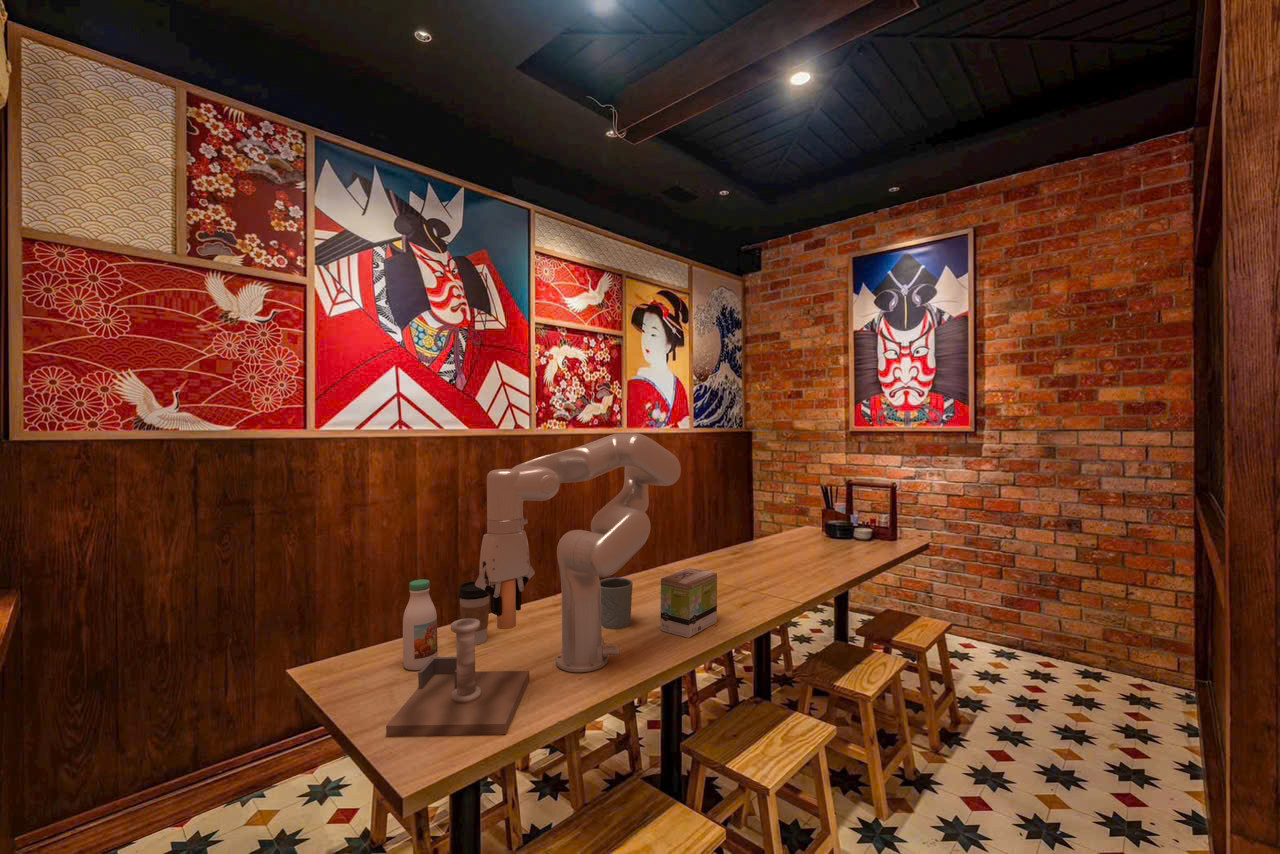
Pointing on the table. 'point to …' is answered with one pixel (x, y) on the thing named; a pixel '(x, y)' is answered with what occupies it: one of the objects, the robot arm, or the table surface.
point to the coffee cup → (475, 608)
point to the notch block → (437, 669)
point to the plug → (507, 605)
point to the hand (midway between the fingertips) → (506, 610)
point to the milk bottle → (419, 627)
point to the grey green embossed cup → (616, 602)
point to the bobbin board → (462, 697)
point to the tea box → (688, 602)
